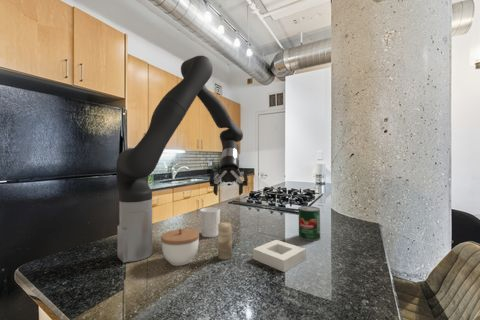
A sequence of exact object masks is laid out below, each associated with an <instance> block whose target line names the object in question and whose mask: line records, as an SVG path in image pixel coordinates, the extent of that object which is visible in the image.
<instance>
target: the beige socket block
mask: <svg viewBox="0 0 480 320" xmlns="http://www.w3.org/2000/svg"><path fill="white" fill-rule="evenodd" d="M252 259H253V260H255V261H257V262H259V263H261V264H263V265H267V266H269V267H270V268H273V269H275V270H278V271H280V272H282V273H285V272H287V271H288V270H291V269H292V268H293V267H295V266H297V265H299V264H300V263H302V262H304V261H306V260H307V249H306V248H304V247H301V246H298V245H294V244H292V243H288V242H286V241H285V242H284V241H281V240H279V239H275V240H272V241H268V242H266V243H264V244H261V245H259V246H256V247H254V248H252Z"/></svg>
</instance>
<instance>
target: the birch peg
mask: <svg viewBox="0 0 480 320" xmlns="http://www.w3.org/2000/svg"><path fill="white" fill-rule="evenodd" d="M217 238H218V239H217V240H218V241H217V242H218V243H217V245H218V246H217V247H218V249H217V250H218V257H217V258H218V259H219V260H222V261H223V260H224V261H227V260H230V259H231V258H233V257H232V256H233V255H232V252H233V251H232V246H233V245H232V244H233V243H232V240H233V239H232V222H230V221H229V222H228V221H222V222H220V223H219V224H218V236H217Z"/></svg>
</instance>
